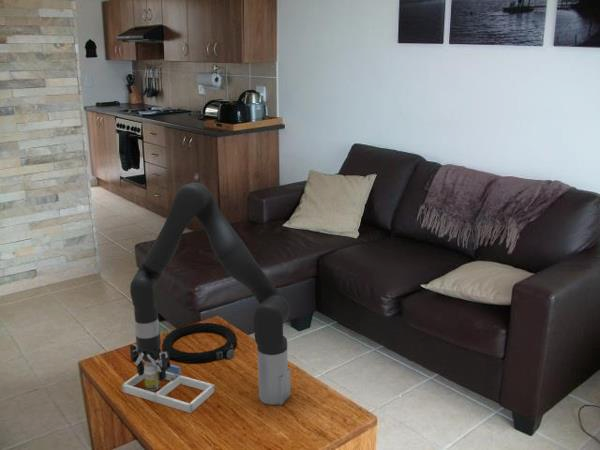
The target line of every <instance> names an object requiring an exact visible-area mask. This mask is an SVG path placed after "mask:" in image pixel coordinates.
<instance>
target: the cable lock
mask: <svg viewBox="0 0 600 450" xmlns="http://www.w3.org/2000/svg"><path fill="white" fill-rule="evenodd" d="M205 332H206V333H215V334H217V335H218V334H219V335H221V336H223V337H225V339H226V342H225V343H224V344H223V345H220V346H218V347H217V348H214V349H213V350H211V349H210V350H207V351H202V352H188V351H182V350H178V348H177V349H176V348H175V347H174V346H173V343H174V342H176V340H178V339H179V338H180V339H181V337H183V336H187V335H190V334H194V333H205ZM237 339H238V337H237V334H236V333H235V332H234V331H233V329H232V328H229V327H228V326H226V325H222V324H218V323H212V322H197V323H191V324H186V325H183V326H180V327H178V328H175V329H173V330H172V331H171V332H169V333H168V334H166V335H165V337H164V339H162V340H163V341H162V344H161V347H162V352H165V351H168V352H169V358H170V359H172V360H174V361H175V360H176V361H177V362H183V363H192V364H193V363H195V364H196V363H197V364H198V363H206V362H211V361H214V360H216V361H217V360H222V359H224V360H230V359H233V357H234V356H235V349H234V348H235V347H236V345H237V341H238V340H237Z"/></svg>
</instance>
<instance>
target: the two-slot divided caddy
mask: <svg viewBox="0 0 600 450" xmlns="http://www.w3.org/2000/svg"><path fill="white" fill-rule="evenodd" d="M158 361H159V360H156V362H158ZM159 365H160V367H162V366H161V364H159ZM170 366H171V367H170V368H169V369H167V370H166V378H165V379H164V380H166V381H169V382H168V383H167V384H166V385H164V386H163V387H161V388H160V389H158V391H156V392H153V391H150V390H147V389H144V388H140V387H137V386H136V385H137V384H138V383H140V382H141V381H143V380H145V378H144V374H142V375H141V376H140V375H138V373H136V374H135V375H134V376H132V377H131V378H129V379H127V380H126V381H125V382H124V383H122V384H121V393H122V392H123V393H125V394H128V395H130V396H131V395H132V396H134V397H138V398H141V399H143V400H144V399H145V400H148V401H151V402H154V403H157V404H159V405H160V404H161V405H164V406H166V407H170V408H173V409H175V410H176V409H177V410H178V411H183V412H186V413H190V414H191V413H193V412H194V411H195V410H196V409H197V408H199V406H201V405H202V404H203V403H205V401H206V400H207V399H208V398H210V397H211V396H212V395H213V394H215V392H216V391H215V390H216V386H215V385H216V384H213V383H209V382H207V381H203V380H199V379H195V378H191V377H188V376H185V375H182V373H181V372H182V371H181V366H178V365H176V364H175V365H174V364H171V363H170ZM144 370H145V366H144ZM180 385H183V386H187V387H191V388H194V389H198V390H201V391H202V392H201V393H200V394H198V395H197V396H196V397H195V398H194V399H192V401H190V403H189V402H186V401H182V400H180V399H176V398H173V397H169V396H167V395H168V394H170V393H171V392H172V391H173V390H174V389H176V388H177V387H178V386H180Z"/></svg>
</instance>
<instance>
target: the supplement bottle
mask: <svg viewBox="0 0 600 450" xmlns="http://www.w3.org/2000/svg"><path fill="white" fill-rule="evenodd" d="M144 367H145V370H144V385H145V390H147V391H150V392H153V391H156V390H159V388H160V387H161V381H159V374H158V371H159V370H158V369H157V367H156V366H154V365H153V363H151V362H149V361H146V363H145V362H144Z"/></svg>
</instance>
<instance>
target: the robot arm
mask: <svg viewBox="0 0 600 450" xmlns="http://www.w3.org/2000/svg"><path fill="white" fill-rule="evenodd" d="M169 210H170V211H169V213H168V215H167V217H166V219H165V222H164V224H163V226H162V228H161V229H160V232H159V233H158V235H157V237H156V239H155V240H154V242H153V244H152V246H151V247H150V249H149V251H147V254H146V256H145V257H144V260H143V263H142V264H141V265H140V267H138V270H137V271H136V273H135V274H134V277H133V278H132V280H131V282H130V287H129V288H130V289H129V291H130V292H129V293H130V299H131V301H132V304H133V309H134V311H133V312H134V323H135V324H134V331H135V332H134V333H135V343H133V344H131V346H130V347H129V349H130V362H131V363H134V364H135V365H136V370H137V371H136V372H137V374H138V375H140V376H141V375H142V374H144V367H145V366H144V365H145V362H151V363H153V365H154V366H156V367H157V369H158V370H159V371H158V374H159V381H160V383H161V382H163V381H165V380H166V379H165V378H166V370H167V369H169V368H170V367H171V366H170V364H171V360H170V359H171V358H170V357H169V352H168V351H165V352H164V351H163V350H161V348H160V347H161V345H162V344H161V343H162V341H161V330H160V329H161V327H160V326H161V325H160V320H159V315H158V314H159V313H158V306H157V302H156V301H155V296H154V295H155V294H154V289H155V288H156V285H157V284H158V281H159V279H160V277H161V275H162V273H163V272H164V271H165V270H166V268H167V267H168V265H169V264H170V262H171V260H172V259H173V257H174V256H175V254H176V251H177V249H178V247H179V244H180V241H181V239H182V236H183V234H184V231H185V230H186V229H187V227H188V225H189V224H190V222H191V221H192V220H193V219H194V217H195V218H196V219H197V220H198V222H199V223H200V224H201V226H202V227H203V229H204V231H205V232H206V235H207V237H208V239H209V243H210V247H211V249H212V251H213V254H214V255H215V257H216V259H217V261H219V264H220V265H221V266H222V268H223V269H224V270H225V272H226V273H227V274H228V275H229V276H230V277H232V278H233V279H234V280H236V281H237V282H239V283H241V284H242V285H243V286H245V287H246V288H247V289H248V290H249V291H250V292H251V293H252V294H253V297H255V299H256V301H257V302H258V304H259V305H258V306H257V307H256V308H255V310H254V313H253V331H254V341H255V343H256V345H257V374H258V375H257V377H258V379H257V381H258V383H257V384H258V399H259V400H260V401H261V403H263V404H266V405H271V406H274V405H280V406H281V405H282V406H283V404H284V403H285V402H286V401H287V400H288V399H289V398H290V396H291V369H290V368H288V339H287V337H286V336H284V324H285V322H286V321H287V320H288V318H289V317H290V315H291V309H290V304H289V302H288V301H287V300H286V298H285V297H284V296H283V294H282V293H281V292H280V290H278V288H277V287H276V286H275V285H274V284H273V283H272V281H271V280H270V279H269V278H268V277H267V275H266V274H265V272H264V271H263V269H262V267H261V266H260V265H259V264H258V262H257V261H256V259H255V258H254V256H253V254H252V253H251V252H250V250H249V249H248V248H247V246H246V244H245V243H244V241H243V240H242V239H241V237H240V236H239V234H238V233H237V232H236V231H235V229H234V228H233V227H232V225H231V224H230V222H229V221H228V220H227V219H226V217H225V215H224V214H223V212H222V211H221V209H220V207H219V206H218V203H217V201H216V200H215V198H214V197H213V194H212V193H211V191H210V189H209V188H208V187H207V186H206V185H205V184H203V183H201V182H191V183H187V184H184V185H182V186H180V187H179V189H178V190H177V193H176V194H175V196H174V199H173V201H172V204H171V208H170V209H169ZM156 361H158V362H156ZM159 364H161V366H162V367H160V365H159Z"/></svg>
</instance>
